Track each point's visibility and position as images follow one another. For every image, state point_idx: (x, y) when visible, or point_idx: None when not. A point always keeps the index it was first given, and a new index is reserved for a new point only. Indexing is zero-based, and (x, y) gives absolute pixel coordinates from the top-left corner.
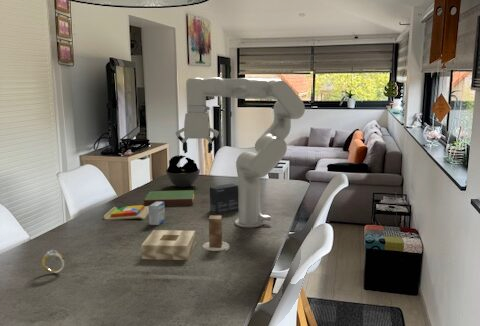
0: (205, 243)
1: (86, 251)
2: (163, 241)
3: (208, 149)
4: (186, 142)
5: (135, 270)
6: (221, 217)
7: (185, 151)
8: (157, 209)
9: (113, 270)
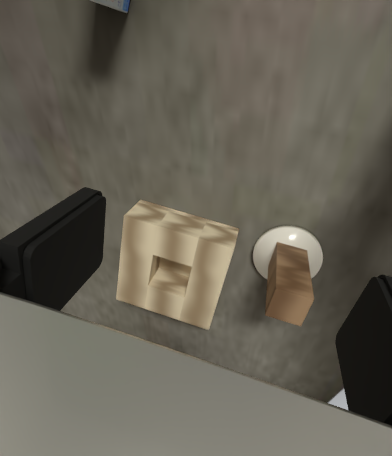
0: (263, 238)
1: (12, 201)
2: (158, 294)
3: (345, 373)
4: (20, 263)
5: (127, 306)
6: (309, 307)
7: (89, 271)
8: (96, 2)
9: (92, 296)
